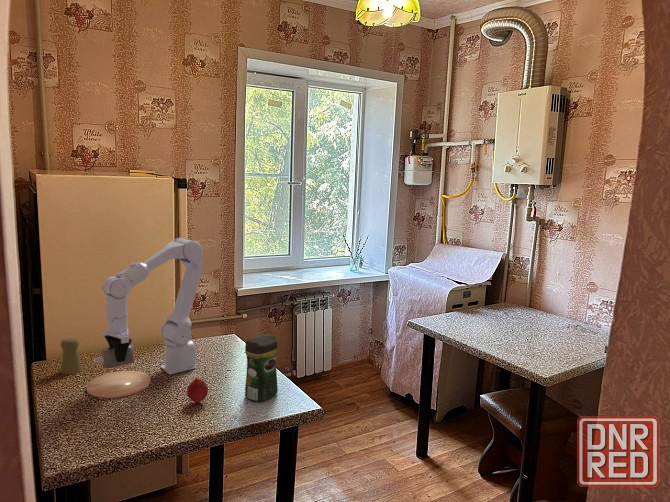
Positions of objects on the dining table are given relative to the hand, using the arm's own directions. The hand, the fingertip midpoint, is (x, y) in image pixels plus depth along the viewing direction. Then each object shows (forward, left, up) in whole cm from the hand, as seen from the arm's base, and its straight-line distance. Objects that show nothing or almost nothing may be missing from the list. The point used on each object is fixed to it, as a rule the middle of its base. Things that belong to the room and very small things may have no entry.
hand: (118, 359), depth 147 cm
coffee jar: (-31, +32, -9) cm, 45 cm away
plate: (0, 0, -8) cm, 8 cm away
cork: (+9, -20, -9) cm, 24 cm away
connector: (+1, 0, -1) cm, 2 cm away
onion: (-14, +25, -9) cm, 30 cm away
